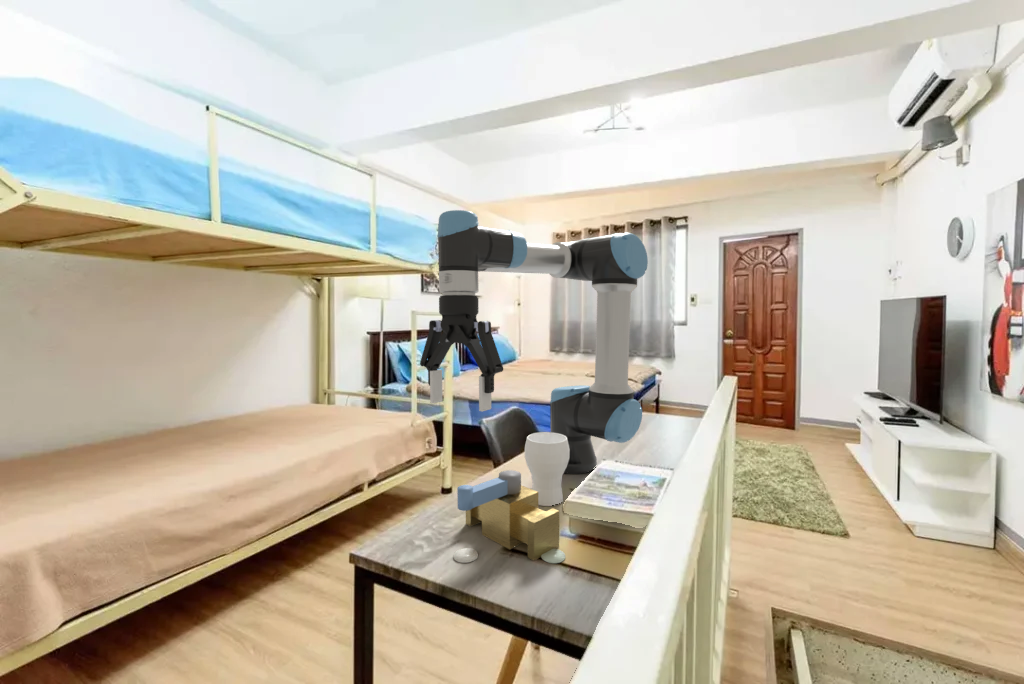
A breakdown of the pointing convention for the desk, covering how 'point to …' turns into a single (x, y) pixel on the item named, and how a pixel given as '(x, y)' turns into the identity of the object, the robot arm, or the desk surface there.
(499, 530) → the valve body
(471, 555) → the white domed disc
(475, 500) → the lever
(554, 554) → the pale green round dome
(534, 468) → the cup
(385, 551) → the desk surface
